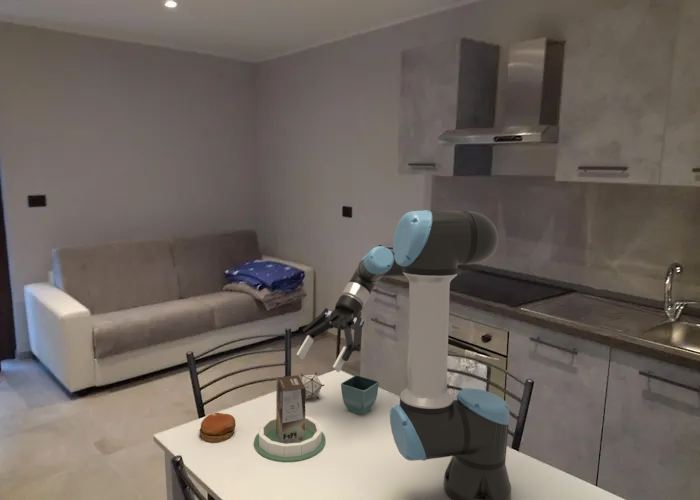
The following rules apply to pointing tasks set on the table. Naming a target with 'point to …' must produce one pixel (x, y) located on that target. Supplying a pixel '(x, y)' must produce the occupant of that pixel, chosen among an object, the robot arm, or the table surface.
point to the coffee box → (290, 409)
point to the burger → (217, 427)
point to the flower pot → (359, 393)
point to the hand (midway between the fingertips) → (317, 363)
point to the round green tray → (290, 452)
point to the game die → (311, 385)
